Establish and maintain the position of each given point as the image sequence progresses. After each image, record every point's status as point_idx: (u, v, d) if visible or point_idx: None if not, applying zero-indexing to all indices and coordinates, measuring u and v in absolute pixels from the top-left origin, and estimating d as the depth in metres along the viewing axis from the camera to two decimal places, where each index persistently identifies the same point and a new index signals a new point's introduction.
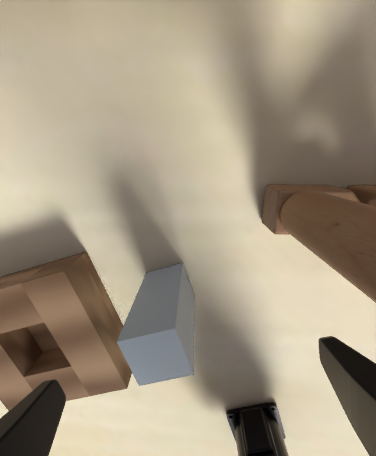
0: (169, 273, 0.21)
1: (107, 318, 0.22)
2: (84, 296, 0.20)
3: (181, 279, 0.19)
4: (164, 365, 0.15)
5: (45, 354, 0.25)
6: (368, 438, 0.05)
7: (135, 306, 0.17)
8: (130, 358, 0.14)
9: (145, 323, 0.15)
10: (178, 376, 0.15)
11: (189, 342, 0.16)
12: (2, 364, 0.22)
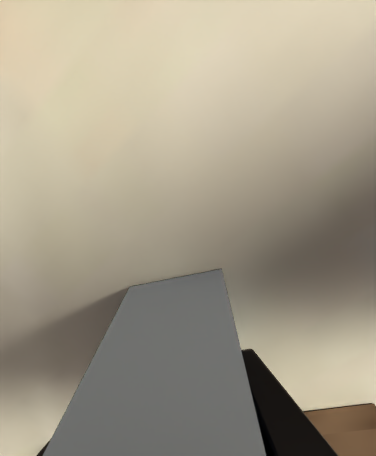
0: None
1: None
2: None
3: (105, 342, 0.06)
4: None
5: None
6: None
7: None
8: None
9: None
10: None
11: None
12: None
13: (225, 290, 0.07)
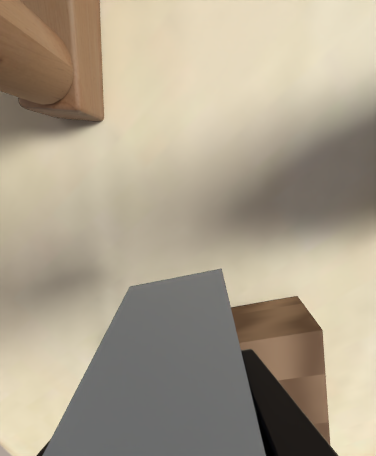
0: None
1: None
2: None
3: (105, 342, 0.07)
4: None
5: None
6: (264, 449, 0.05)
7: None
8: None
9: None
10: None
11: None
12: None
13: (225, 290, 0.07)
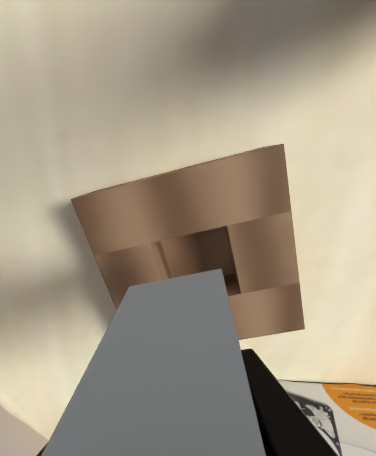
0: None
1: (173, 171, 0.16)
2: (119, 186, 0.15)
3: (105, 342, 0.06)
4: None
5: (234, 269, 0.19)
6: (264, 449, 0.05)
7: None
8: None
9: None
10: None
11: None
12: None
13: (225, 290, 0.07)
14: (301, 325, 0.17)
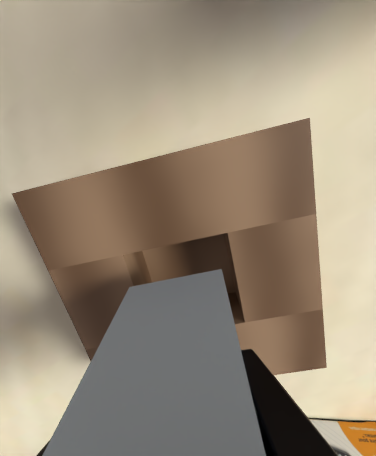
0: None
1: None
2: None
3: (105, 342, 0.06)
4: None
5: (235, 287, 0.15)
6: (264, 449, 0.05)
7: None
8: None
9: None
10: None
11: None
12: None
13: (225, 290, 0.07)
14: (322, 363, 0.13)
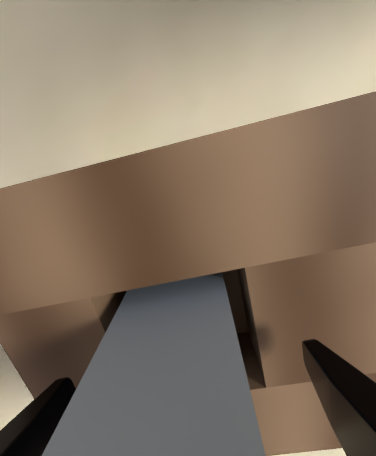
0: None
1: None
2: None
3: (120, 310, 0.08)
4: None
5: (248, 328, 0.11)
6: (346, 440, 0.05)
7: None
8: None
9: None
10: None
11: None
12: None
13: None
14: None
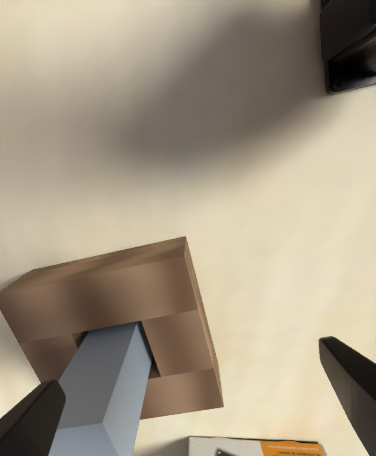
0: None
1: (97, 262, 0.17)
2: (41, 281, 0.16)
3: (85, 339, 0.16)
4: (89, 449, 0.11)
5: None
6: (368, 438, 0.05)
7: None
8: None
9: None
10: (107, 438, 0.11)
11: (93, 393, 0.12)
12: None
13: None
14: (220, 404, 0.18)
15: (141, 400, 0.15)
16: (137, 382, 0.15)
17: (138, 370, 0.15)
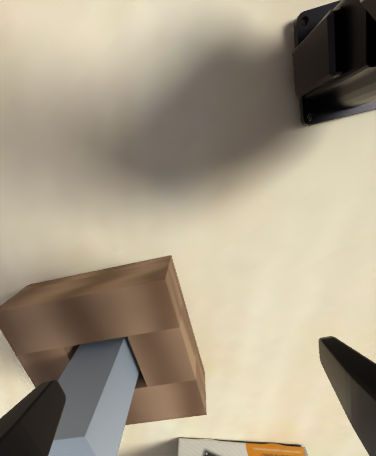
0: None
1: (87, 281, 0.18)
2: (35, 299, 0.17)
3: (76, 352, 0.18)
4: None
5: None
6: (368, 438, 0.05)
7: None
8: None
9: None
10: (90, 449, 0.12)
11: (79, 407, 0.13)
12: None
13: None
14: (203, 412, 0.19)
15: (126, 410, 0.16)
16: (122, 393, 0.16)
17: (124, 382, 0.17)
